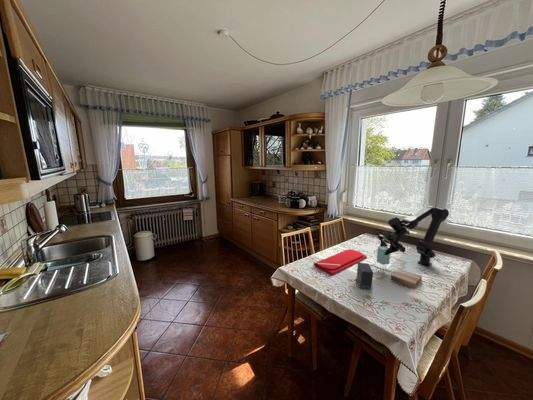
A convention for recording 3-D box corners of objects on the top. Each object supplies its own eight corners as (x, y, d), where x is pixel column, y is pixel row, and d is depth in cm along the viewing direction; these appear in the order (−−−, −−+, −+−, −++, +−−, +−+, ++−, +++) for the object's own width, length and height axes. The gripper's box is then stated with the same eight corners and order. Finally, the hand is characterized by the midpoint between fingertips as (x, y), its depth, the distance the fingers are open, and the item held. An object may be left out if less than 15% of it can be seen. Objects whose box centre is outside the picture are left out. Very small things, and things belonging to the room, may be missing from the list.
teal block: (383, 260, 145) (384, 245, 143) (389, 263, 140) (390, 248, 138) (376, 261, 144) (377, 246, 142) (382, 264, 139) (383, 249, 137)
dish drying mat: (367, 258, 159) (368, 253, 159) (332, 277, 135) (332, 271, 134) (348, 251, 172) (348, 246, 171) (312, 267, 147) (312, 261, 147)
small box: (372, 289, 121) (374, 272, 119) (359, 288, 122) (361, 271, 120) (367, 279, 131) (369, 263, 129) (356, 278, 132) (357, 262, 130)
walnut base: (398, 273, 138) (399, 268, 137) (421, 281, 129) (421, 276, 128) (390, 279, 130) (391, 275, 130) (413, 288, 121) (414, 283, 121)
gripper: (380, 222, 147) (364, 240, 147) (403, 231, 129) (385, 251, 129) (389, 233, 150) (374, 250, 150) (413, 243, 132) (395, 262, 132)
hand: (381, 253), depth 140 cm, fingers closed on teal block, 5 cm apart
